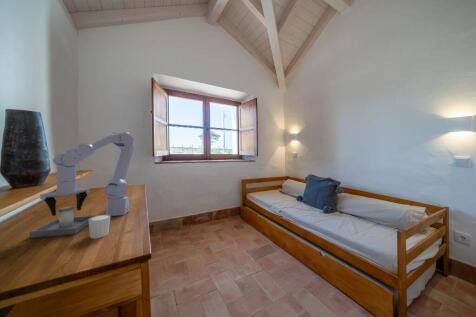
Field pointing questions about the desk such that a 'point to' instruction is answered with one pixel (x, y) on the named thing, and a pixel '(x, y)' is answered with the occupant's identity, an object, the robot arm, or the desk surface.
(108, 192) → the robot arm
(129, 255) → the desk surface
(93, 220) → the white cup
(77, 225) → the tray
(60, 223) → the shaker
